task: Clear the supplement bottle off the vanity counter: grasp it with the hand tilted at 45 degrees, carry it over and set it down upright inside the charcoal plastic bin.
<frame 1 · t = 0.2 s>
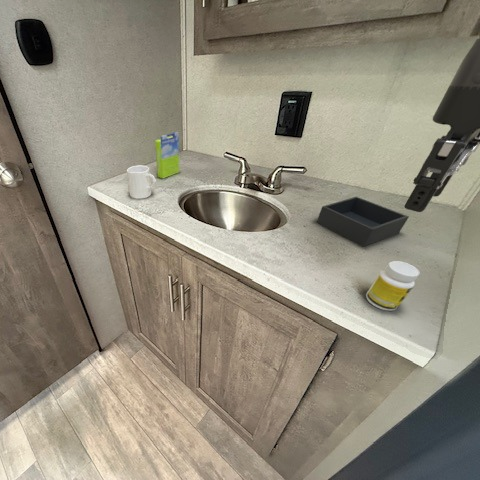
hand: (421, 201, 39), 19 cm above the worktop, tool pointing down, fingers open, 8 cm apart
mug: (144, 195, 91), on the worktop
supplement bottle: (380, 302, 46), on the worktop
box: (168, 175, 108), on the worktop
bin: (355, 227, 66), on the worktop
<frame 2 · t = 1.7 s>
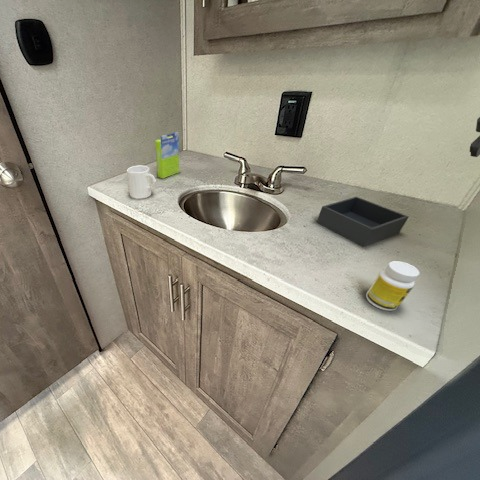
nothing on the worktop moved.
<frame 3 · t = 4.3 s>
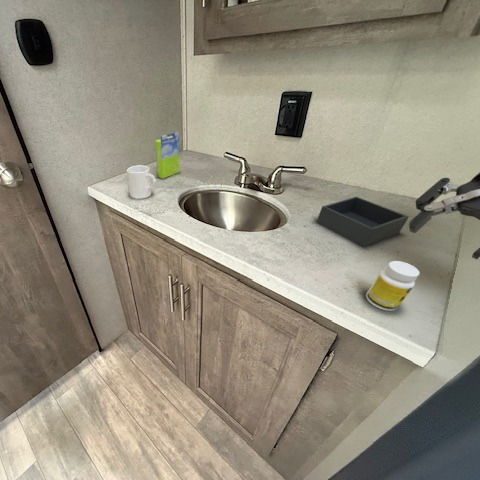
hand: (441, 242, 41), 11 cm above the worktop, tool tilted 45°, fingers open, 8 cm apart
nothing on the worktop moved.
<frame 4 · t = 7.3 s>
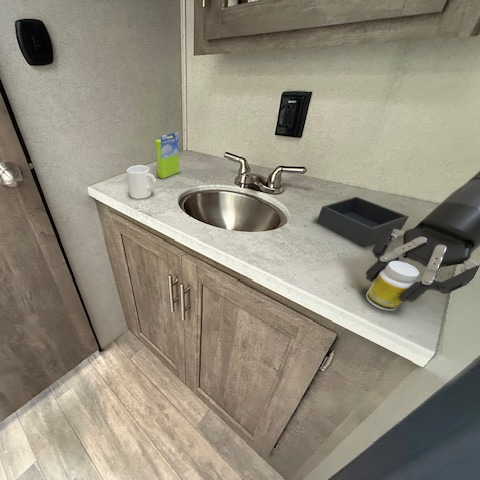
hand: (384, 289, 43), 4 cm above the worktop, tool tilted 45°, fingers closed on supplement bottle, 4 cm apart
supplement bottle: (380, 302, 46), on the worktop, touching gripper
everything else where it was.
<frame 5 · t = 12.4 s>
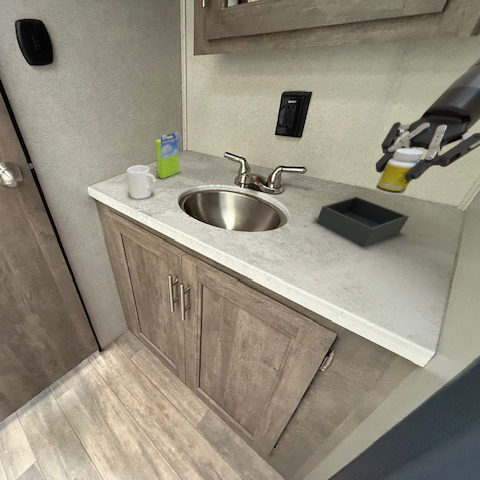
hand: (392, 174, 49), 18 cm above the worktop, tool tilted 45°, fingers closed on supplement bottle, 4 cm apart
supplement bottle: (388, 191, 52), point 14 cm above the worktop, touching gripper
everything else where it was.
when the fingers open (5 cm above the worktop, at t = 17.5 s): supplement bottle stays where it is, resting on bin.
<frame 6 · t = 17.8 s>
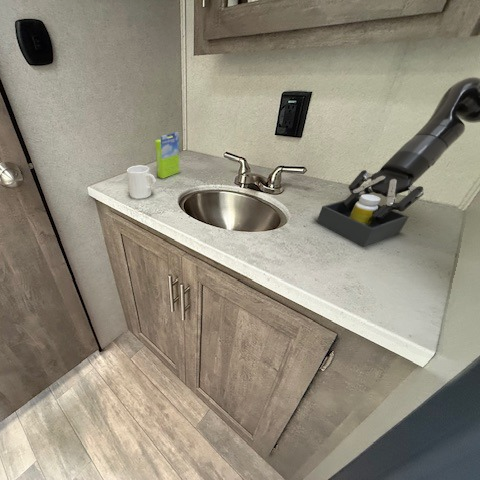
hand: (359, 212, 63), 5 cm above the worktop, tool tilted 45°, fingers open, 6 cm apart
supplement bottle: (356, 226, 66), resting on bin
everything else where it was.
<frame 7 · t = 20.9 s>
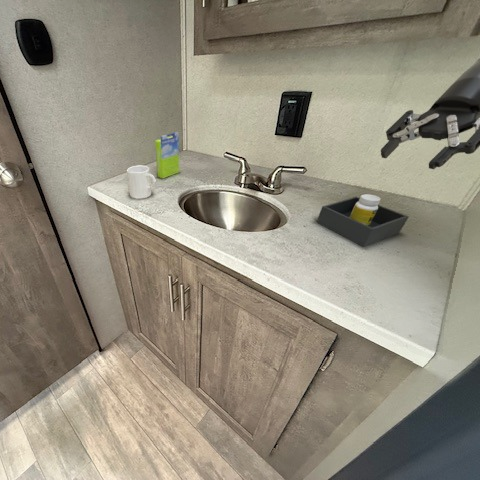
hand: (405, 160, 50), 20 cm above the worktop, tool tilted 45°, fingers open, 8 cm apart
nothing on the worktop moved.
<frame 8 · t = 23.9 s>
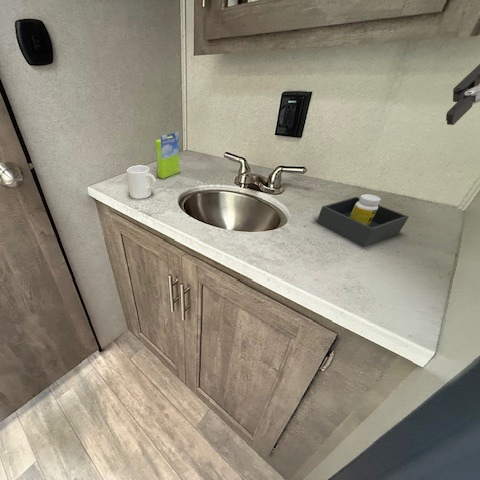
nothing on the worktop moved.
at the end: supplement bottle inside the target area in the bin (0.2 cm from its centre), point 0.4 cm above the bin's base; supplement bottle tilted 0°; the gripper is holding nothing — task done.
